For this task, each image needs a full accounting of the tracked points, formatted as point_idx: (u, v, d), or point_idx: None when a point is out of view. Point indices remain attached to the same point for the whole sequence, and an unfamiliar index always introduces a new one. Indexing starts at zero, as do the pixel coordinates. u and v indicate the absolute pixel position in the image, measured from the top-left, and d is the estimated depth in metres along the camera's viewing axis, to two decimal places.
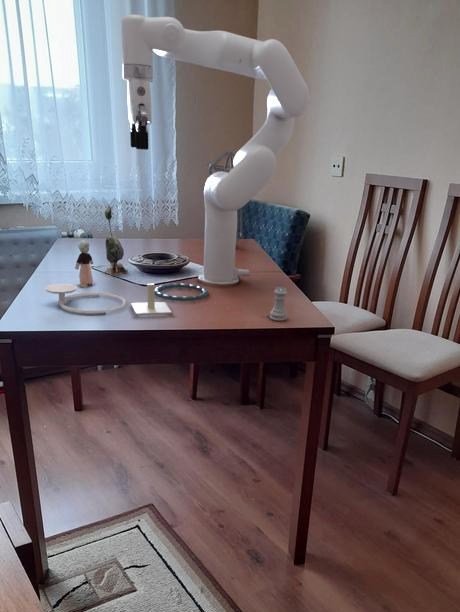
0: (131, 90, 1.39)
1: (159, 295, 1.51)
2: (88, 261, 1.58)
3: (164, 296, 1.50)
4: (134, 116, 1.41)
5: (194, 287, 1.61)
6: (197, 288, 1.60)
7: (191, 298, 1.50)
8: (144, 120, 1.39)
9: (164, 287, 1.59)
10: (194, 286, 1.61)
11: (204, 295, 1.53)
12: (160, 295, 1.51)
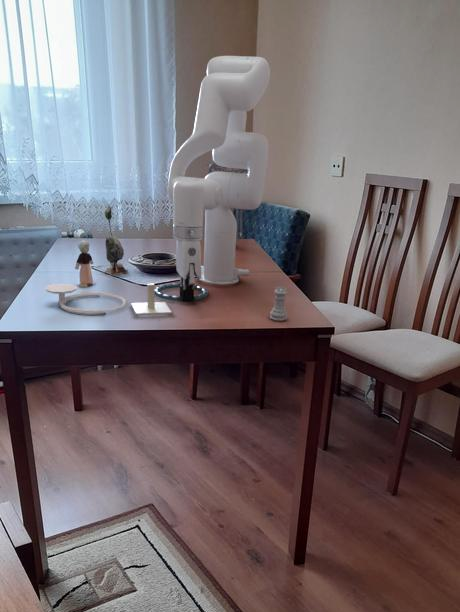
0: (182, 250, 1.41)
1: (159, 295, 1.51)
2: (88, 261, 1.58)
3: (164, 296, 1.50)
4: (184, 274, 1.42)
5: (194, 287, 1.60)
6: (197, 288, 1.60)
7: None
8: (191, 285, 1.44)
9: (164, 287, 1.59)
10: (194, 286, 1.61)
11: (204, 295, 1.53)
12: (160, 295, 1.51)
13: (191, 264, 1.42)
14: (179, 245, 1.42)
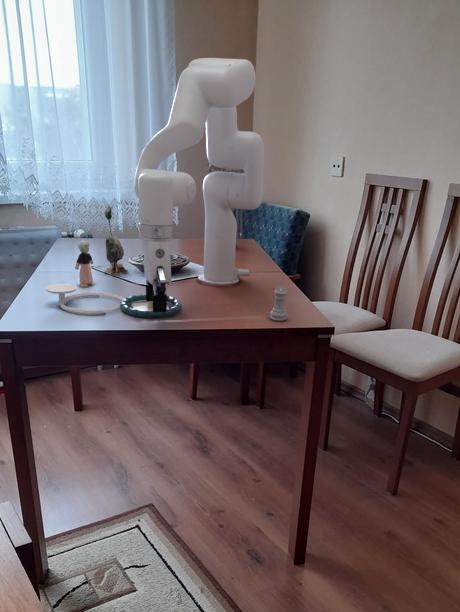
0: (148, 251, 1.24)
1: (125, 309, 1.36)
2: (88, 261, 1.58)
3: (130, 310, 1.35)
4: (151, 279, 1.25)
5: None
6: (169, 299, 1.44)
7: (160, 313, 1.34)
8: (163, 286, 1.24)
9: (132, 298, 1.43)
10: None
11: (176, 308, 1.37)
12: (126, 309, 1.35)
13: None
14: (146, 246, 1.25)
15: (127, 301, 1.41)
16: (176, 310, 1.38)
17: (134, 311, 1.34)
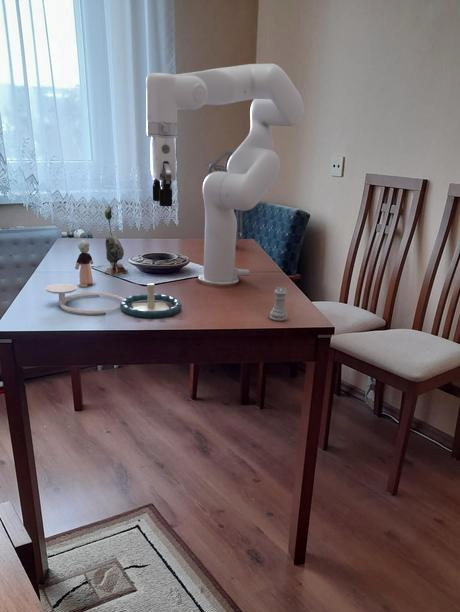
0: (155, 148, 1.36)
1: (125, 309, 1.36)
2: (88, 261, 1.58)
3: (130, 310, 1.35)
4: (158, 174, 1.38)
5: (166, 298, 1.45)
6: (169, 299, 1.44)
7: (160, 313, 1.34)
8: (169, 178, 1.36)
9: (132, 298, 1.43)
10: (166, 297, 1.45)
11: (176, 308, 1.37)
12: (126, 309, 1.35)
13: None
14: (153, 143, 1.37)
15: (127, 301, 1.41)
16: (176, 310, 1.38)
17: (134, 311, 1.34)
